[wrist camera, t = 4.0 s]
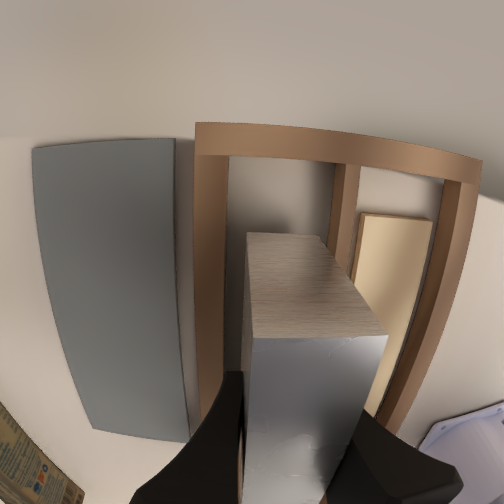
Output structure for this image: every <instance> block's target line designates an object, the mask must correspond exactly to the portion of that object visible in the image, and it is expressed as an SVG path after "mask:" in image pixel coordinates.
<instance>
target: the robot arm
mask: <svg viewBox="0 0 504 504" xmlns="http://www.w3.org/2000/svg"><path fill="white" fill-rule="evenodd" d="M243 385H244V384H243V371H226V372H225V373H224V377H223V381H222V384H221V387H220V389H219V392H218V394H217V396H216V398H215V400H214V402H213V404H212V406H211V408H210V410H209V412H208V413H207V415H206V417H205V418H204V420H203V422H202V423H201V425H200V426H199V428H198V429H197V431H196V432H195V434H194V435H193V436H192V438H191V439H190V440H189V442H188V443H187V444H186V445H185V446H184V448H183V449H182V450H181V451H180V452H179V453H178V454H177V456H176V457H175V458H174V459H173V460H172V461H171V462H170V463H169V464H167V465H166V466H165V467H164V468H163V469H162V470H161V471H160V472H159V473H158V474H157V475H155V476H154V477H153V478H152V479H150V480H149V481H148V482H146V483H145V484H144V485H142V486H141V487H140V488H138V489H137V490H136V492H135V493H134V495H133V497H132V499H131V501H130V503H129V504H238V453H239V445H240V436H241V425H242V405H243ZM326 499H327V504H504V402H502V403H500V404H497V405H494V406H491V407H488V408H485V409H482V410H479V411H476V412H473V413H470V414H466V415H463V416H459V417H456V418H452V419H449V420H445V421H441V422H438V423H436V424H435V425H433V427H432V428H431V430H430V431H429V433H428V435H427V436H426V438H425V439H424V441H423V442H422V444H421V446H420V447H419V449H418V450H417V449H415V448H413V447H412V446H410V445H408V444H407V443H405V442H404V441H402V440H401V439H399V438H398V437H396V436H395V435H393V434H392V433H391V432H390V431H388V430H387V429H386V428H384V427H383V426H382V425H381V424H380V423H379V422H377V421H376V420H375V419H374V418H373V417H372V416H371V415H370V414H369V413H368V412H367V411H366V410H365V409H364V408H363V411H362V413H361V416H360V418H359V421H358V423H357V426H356V428H355V430H354V433H353V435H352V437H351V439H350V442H349V444H348V446H347V448H346V451H345V453H344V455H343V457H342V459H341V461H340V463H339V466H338V468H337V470H336V472H335V474H334V476H333V478H332V480H331V482H330V484H329V486H328V487H327V489H326Z"/></svg>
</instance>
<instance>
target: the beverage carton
mask: <svg viewBox="0 0 504 504" xmlns="http://www.w3.org/2000/svg"><path fill="white" fill-rule="evenodd" d="M84 495H85V493H84V492H83V491H82V490H81V489H80V488H79V487H78V486H77V485H75V484H74V483H73V482H72V481H71V480H70V479H69V478H68V477H67V476H66V475H64V474H63V473H62V472H61V471H60V470H59V469H58V468H57V467H56V466H55V465H54V464H53V463H52V462H51V461H50V460H49V459H48V458H47V457H46V455H45V454H44V453H43V452H42V451H41V450H40V449H39V448H38V447H37V446H36V445H35V443H34V442H33V441H32V440H31V439H30V438H29V437H28V435H27V434H26V433H25V432H24V431H23V430H22V429H21V427H20V426H19V425H18V424H17V422H16V421H15V420H14V419H13V417H12V416H11V415H10V414H9V412H8V411H7V410H6V409H5V407H4V406H3V405H2V403H1V402H0V499H1V500H2V501H3V502H4V503H5V504H82V503H83V500H84Z"/></svg>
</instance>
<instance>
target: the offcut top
mask: <svg viewBox="0 0 504 504" xmlns="http://www.w3.org/2000/svg"><path fill="white" fill-rule="evenodd" d="M432 225H433V222H432V221H430V220H429V219H425V218H415V217H404V216H393V215H381V214H368V213H361V215H360V223H359V230H358V237H357V244H356V250H355V257H354V263H353V269H352V274H351V281H352V283H353V284H354V285H355V287H356V288H357V290H358V291H359V292H360V294H361V295H362V297H363V298H364V300H365V301H366V302H367V304H368V305H369V307H370V308H371V310H372V311H373V312H374V314H375V315H376V317H377V318H378V320H379V321H380V323H381V324H382V326H383V327H384V328H385V330H386V331H387V333H388V334H389V336H388V339H387V343H386V346H385V349H384V352H383V355H382V358H381V361H380V364H379V367H378V370H377V373H376V376H375V379H374V382H373V385H372V387H371V390H370V393H369V395H368V398H367V401H366V403H365V406H364V409H365V410H366V411H367V412H368V413H369V414H370V415H371V416H372V417H373V418H374V416H375V414H376V411H377V409H378V407H379V404H380V402H381V400H382V397H383V395H384V392H385V390H386V387H387V385H388V382H389V379H390V377H391V374H392V371H393V369H394V366H395V363H396V360H397V358H398V355H399V352H400V349H401V346H402V343H403V340H404V337H405V334H406V330H407V327H408V324H409V321H410V317H411V314H412V311H413V307H414V303H415V300H416V296H417V292H418V289H419V285H420V281H421V277H422V272H423V268H424V264H425V259H426V255H427V250H428V245H429V240H430V235H431V230H432Z"/></svg>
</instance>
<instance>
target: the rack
mask: <svg viewBox="0 0 504 504" xmlns="http://www.w3.org/2000/svg"><path fill="white" fill-rule="evenodd" d="M229 155H230V156H253V157H271V158H286V159H299V160H311V161H322V162H332V163H336V166H335V177H334V187H333V197H332V206H331V215H330V224H329V232H328V240H327V248H328V250H329V251H330V252H331V254H332V255H333V257H334V258H335V259H336V261H337V262H338V263H339V265H340V266H341V267H342V269H343V270H344V272H345V273H347V267H348V261H349V255H350V248H351V242H352V235H353V228H354V221H355V213H356V205H357V197H358V188H359V179H360V169H361V166H366V167H374V168H381V169H388V170H395V171H402V172H408V173H414V174H420V175H426V176H432V177H437V178H442V179H445V181H444V189H443V195H442V202H441V208H440V214H439V220H438V225H437V230H436V235H435V240H434V245H433V250H432V254H431V259H430V263H429V267H428V271H427V275H426V279H425V283H424V287H423V291H422V294H421V298H420V301H419V305H418V308H417V312H416V315H415V318H414V321H413V325H412V328H411V331H410V334H409V337H408V340H407V343H406V346H405V349H404V351H403V354H402V357H401V360H400V362H399V365H398V368H397V370H396V373H395V376H394V378H393V381H392V383H391V386H390V388H389V391H388V393H387V395H386V398H385V400H384V402H383V405H382V407H381V409H380V411H379V414H378V416H377V418H376V421H377V422H379V423H380V424H381V425H382V426H383V427H384V428H386V429H387V430H388V431H390V432H391V433H392V434H393V435H396V433H397V432H398V430H399V428H400V426H401V424H402V422H403V420H404V419H405V417H406V415H407V413H408V411H409V409H410V407H411V405H412V403H413V401H414V399H415V397H416V395H417V392H418V390H419V388H420V386H421V384H422V382H423V379H424V377H425V375H426V373H427V370H428V368H429V366H430V363H431V361H432V358H433V356H434V353H435V351H436V348H437V346H438V343H439V341H440V338H441V335H442V333H443V330H444V327H445V324H446V321H447V319H448V316H449V313H450V310H451V307H452V304H453V300H454V297H455V294H456V291H457V287H458V284H459V280H460V277H461V273H462V269H463V266H464V262H465V258H466V254H467V250H468V245H469V241H470V236H471V232H472V227H473V222H474V216H475V211H476V205H477V199H478V193H479V186H480V178H481V170H482V160H478V159H474V158H471V157H467V156H463V155H459V154H455V153H451V152H447V151H443V150H439V149H434V148H430V147H425V146H421V145H416V144H411V143H406V142H401V141H396V140H390V139H384V138H379V137H373V136H367V135H360V134H353V133H346V132H338V131H331V130H321V129H312V128H303V127H292V126H280V125H266V124H248V123H220V122H218V123H217V122H196V124H195V151H194V195H193V258H194V303H195V329H196V350H197V368H198V384H199V398H200V411H201V423H202V422H203V420H204V418H205V417H206V415H207V413H208V412H209V410H210V408H211V406H212V404H213V402H214V400H215V398H216V396H217V394H218V392H219V389H220V387H221V384H222V381H223V377H224V308H225V258H226V222H227V193H228V167H229ZM238 504H239V453H238ZM319 504H327V499H326V491H325V493H324V495H323V497H322V499H321V501H320V502H319Z"/></svg>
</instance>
